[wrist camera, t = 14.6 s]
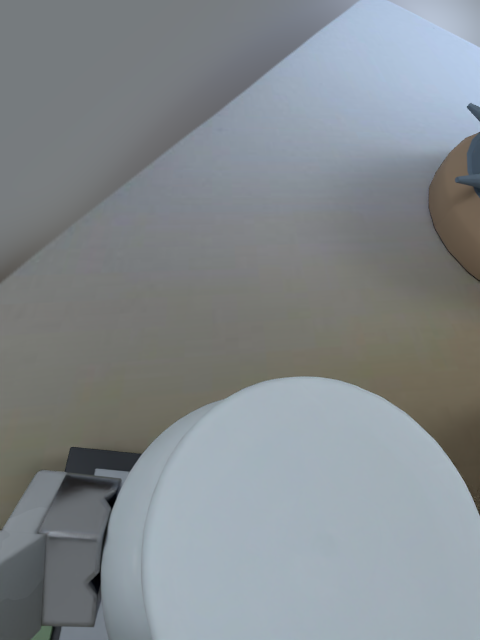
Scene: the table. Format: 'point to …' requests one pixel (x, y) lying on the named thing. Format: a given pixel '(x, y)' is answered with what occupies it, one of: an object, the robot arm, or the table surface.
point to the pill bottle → (293, 525)
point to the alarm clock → (459, 201)
